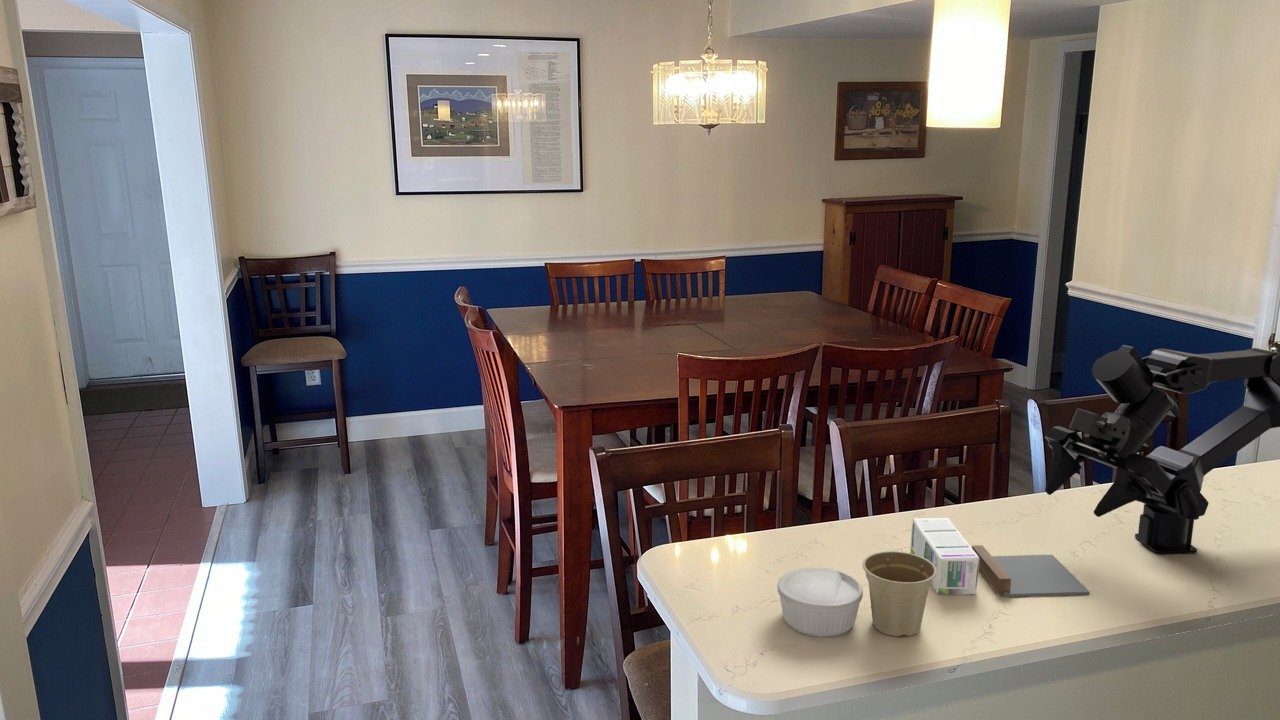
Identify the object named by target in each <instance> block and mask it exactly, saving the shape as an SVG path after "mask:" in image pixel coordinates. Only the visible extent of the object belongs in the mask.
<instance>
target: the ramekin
mask: <svg viewBox="0 0 1280 720" xmlns="http://www.w3.org/2000/svg"><path fill="white" fill-rule="evenodd" d="M776 585H777V589H776V590H777V592H778V595H779V599H780V600H779V601H780V605H781V610H782V615H783V619H784V620H785V622H786V623H787V624H788V625H789V626H790V627H791V628H792V629H793V628H794V630H795V631H796V630H797V631H796V632H798V631H799V633H800V632H801V633H800V634H803V633H804V634H803V635H806V634H807V636H810V637H816V636H817V638H831V637H836V635H837V636H840V635H843V634H845V633H846V632H848V631H850V629H852V628H853V627H854V626H855V624H856V621H857V616H858V613H859V608H860V603H861V601H862V600H863V594H864V590H863V586H862V585H861V583H860V582H859V581H858V580H857V579H856V578H855V577H853V576H851V575H850V574H848V573H846V572H843V571H841V570H837V569H833V568H828V567H827V568H826V567H819V566H818V567H817V566H816V567H814V566H813V567H812V566H811V567H810V566H809V567H803V568H797V569H793V570H790V571H788V572H786V573H784V574H783V575H782V576H781V577H779V579H778V582H777V584H776ZM842 633H843V634H842ZM839 634H840V635H839ZM830 636H831V637H830Z"/></svg>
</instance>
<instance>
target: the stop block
mask: <svg viewBox="0 0 1280 720" xmlns="http://www.w3.org/2000/svg"><path fill="white" fill-rule="evenodd" d="M971 548H972V549H973V550H974V552H975V553H976V554H977V555H978V557H979V573H980V574H981V575H982V576H983V578H984V579H985V580H986V581H987V583H988V584H989V585H990V586H991V588H993V590H994V591H995V592H996V593H997V595H998V596H1003V592H1010V587H1011V578H1010V577H1009V576H1008V574H1007V573H1006V572H1005V571H1004V570H1003V569H1002V567H1001V566H1000V565H999V564H998V563H997V562H996V560H995V559H994V558H993V557H992V555H991V554H990V552H989V551H988V550H987V549H986V548H985V547H984V545H983V544H982V545H981V544H979V545H972V546H971Z"/></svg>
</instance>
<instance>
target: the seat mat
mask: <svg viewBox="0 0 1280 720" xmlns="http://www.w3.org/2000/svg"><path fill="white" fill-rule="evenodd" d="M991 556H992V555H991ZM992 557H993V558H994V559H995V560H996V562H997V563H998V564H999V565H1000V566H1001V567H1002V569H1003V570H1004V571H1005V572H1006V573H1007V574H1008V576H1009V577H1010V578H1011V587H1010V592H1003V595H1002V596H1003V597H1006V598H1009V597H1040V596H1043V597H1044V596H1047V597H1048V596H1076V595H1077V596H1078V595H1081V596H1082V595H1090V593H1091V591H1090V590H1089V589H1088V588H1087V587H1086V586H1085V585H1084V584H1083V583H1081V581H1079V579H1078V578H1076V577H1075V575H1074V574H1073V573H1072V572H1070V571H1069V569H1068V568H1067V567H1065V566H1064V564H1062V563H1061V561H1060V560H1059V559H1057V557H1055V556H1054V555H1053V554H1030V555H1029V554H1023V555H1022V554H1021V555H996V556H995V555H993V556H992Z"/></svg>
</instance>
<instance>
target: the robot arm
mask: <svg viewBox="0 0 1280 720" xmlns="http://www.w3.org/2000/svg"><path fill="white" fill-rule="evenodd" d="M1091 374H1092V376H1093V378H1094V379H1095V380H1096V381H1097V383H1098V384H1099V385H1100V386H1101V387H1102V388H1103V389H1104V390H1105V392H1106V393H1107V395H1109V397H1110V398H1111V399H1112V400H1113V401H1114V402H1116V403H1118V404H1119V406H1118V407H1117V408H1116V410H1115V411H1114V412H1110V411H1106V412H1104V413H1103V414H1102V415H1100V414H1097V413H1094V412H1091V411H1087V410H1085V409H1082V408H1076V410H1075V413H1074V415H1073V417H1072V420H1071V422H1070V424H1069V426H1068V428H1069V429H1068V428H1066V427H1064V426H1063V427H1062V426H1060V425H1057V426H1052V427H1051V428H1050V429H1049V430H1048V432H1047V433H1046V435H1044V438H1045V439H1046V440H1047V442H1048V447H1050V449H1051V450H1052V455H1053V456H1052V457H1053V458H1052V464H1051V468H1050V471H1049V475H1048V479H1047V482H1046V486H1045V488H1044V489H1045V490H1044V492H1045V493H1046V494H1047V495H1049V496H1051V495H1052V494H1054V493H1055V492H1057V491H1058V490H1059V489H1060V488H1061V487H1062V486H1064V484H1066V483H1067V482H1068V480H1070V479H1071V478H1072V477H1073V476H1074V475H1075V474H1077V473H1078V472H1079V470H1081V469H1082V466H1081V465H1080V463H1084V462H1086V461H1087V460H1088V459H1090V460H1092V461H1095V462H1097V463H1100V464H1102V465H1105V466H1108V467H1110V468H1114V469H1116V472H1115V479H1114V481H1113V483H1112V485H1111V486H1110V487H1109V488H1108V489H1107V491H1106V492H1105V494H1104V495H1103V496H1102V497H1101V499H1100V501H1099V502H1098V503H1097V505H1096V506H1095V508H1094V510H1093V514H1094V515H1095V517H1097V518H1099V517H1102V516H1104V515H1106V514H1108V513H1110V512H1112V511H1115V510H1117V509H1119V508H1121V507H1123V506H1125V505H1127V504H1130V503H1133V502H1138V503H1142V504H1143V508H1142V509H1143V510H1142V514H1141V513H1140V515H1139V521H1138V522H1139V523H1138V530H1137V531H1138V533H1135V534H1134V538H1135V539H1137V540H1138V541H1139V542H1140V543H1142V544H1143V545H1144V546H1146V547H1147V548H1148V549H1149V550H1150V551H1152V552H1153V553H1155V554H1190V553H1194V554H1195V553H1197V552H1198V548H1197V547H1195V546H1194V545H1192V540H1193V539H1192V538H1193V533H1194V526H1195V525H1194V523H1195V520H1196V521H1197V520H1199V518H1200V517H1202V516H1205V514H1206V511H1207V509H1208V506H1209V501H1208V500H1207V499H1206V497H1205V496H1204V495H1203V494H1202V493H1201V491H1202V487H1203V481H1204V477H1205V476H1206V475H1207V474H1208V473H1210V472H1211V471H1212V470H1214V469H1215V468H1217V467H1218V466H1220V465H1221V464H1222V463H1224V462H1225V461H1227V460H1228V459H1229V458H1231V457H1232V456H1233V455H1235V454H1236V453H1238V452H1239V451H1240V450H1242V449H1243V448H1245V447H1247V445H1249V444H1250V443H1252V442H1253V441H1254V440H1256V439H1257V438H1258V437H1260V436H1261V435H1263V434H1264V433H1266V432H1267V431H1268V430H1271V429H1276V428H1280V352H1277V351H1272V350H1266V349H1262V348H1258V347H1253V348H1247V349H1246V350H1243V349H1242V350H1233V351H1223V352H1221V351H1220V352H1211V353H1199V354H1198V353H1197V354H1196V353H1190V352H1185V351H1178V350H1173V349H1167V348H1156V349H1154V350H1152V351H1151V352H1150V355H1145V356H1144V357H1141V355H1140V353H1139V352H1138V350H1137V349H1136V348H1135V347H1134V346H1130V345H1125V344H1123V345H1121V347H1120V348H1119V349H1117V350H1113V351H1111V352H1108V353H1105V354H1104V355H1102V356H1101V357H1098V358H1097V359H1096V361H1095V362H1094V363H1093V365H1092V367H1091ZM1237 380H1244V381H1243V385H1244V387H1245V388H1246V390H1247V391H1246V392H1245V398H1244V404H1243V405H1242V406H1241V407H1238V409H1236V410H1235V411H1234V412H1232V413H1230V414H1229V415H1227V416H1226V417H1225V418H1224V419H1222V420H1221V421H1219V422H1217V424H1215V425H1213V426H1212V427H1211V428H1209V429H1207V430H1206V431H1205V432H1203V433H1202V434H1201V435H1199V436H1197V437H1196V438H1195V439H1194V440H1192V441H1191V442H1189V443H1188V444H1186V445H1184V446H1183V447H1182V448H1180V449H1179V450H1176V449H1173V448H1170V447H1167V446H1163V445H1160V446H1157V447H1156V448H1155V449H1154V450H1152V452H1150V453H1149V454H1147V455H1145V456H1144V455H1142V454H1139V453H1138V452H1139V451H1140V449H1141V448H1142V447H1143V446H1144V447H1147V448H1150V447H1151V446H1152V445H1153V443H1154V442H1153V440H1152V439H1151V438H1150V437H1151V436H1152V434H1153V433H1154V431H1155V430H1156V428H1157V427H1158V426H1159V425H1160V423H1161V422H1162V421H1163V419H1164V418H1165V417H1166V415H1168V416H1171V417H1175V418H1179V416H1180V408H1179V406H1178V398H1176V397H1173V396H1169V395H1168V393H1167V392H1166V391H1165V390H1168V391H1170V392H1171V391H1172V392H1174V393H1179V394H1182V395H1190V394H1193V393H1198V392H1199V391H1203V390H1205V389H1207V388H1208V386H1209V385H1210V384H1213V383H1216V382H1227V381H1228V382H1229V381H1237ZM1075 430H1077V431H1079V432H1083V438H1085V439H1086V441H1088V442H1089V443H1090V444H1088V443H1086V442H1085V441H1084V440H1083V438H1082V437H1081V436H1080V435H1079V434H1078V433H1077V431H1075Z"/></svg>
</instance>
